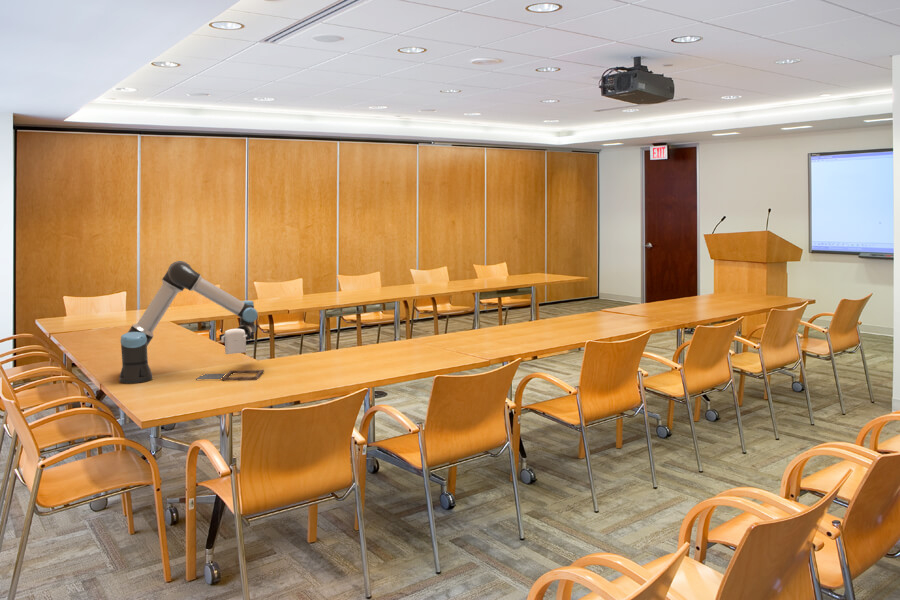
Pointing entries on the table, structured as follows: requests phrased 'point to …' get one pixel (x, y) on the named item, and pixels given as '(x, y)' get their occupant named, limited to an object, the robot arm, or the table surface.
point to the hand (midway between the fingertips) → (232, 339)
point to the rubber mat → (211, 376)
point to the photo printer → (234, 341)
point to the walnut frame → (259, 373)
